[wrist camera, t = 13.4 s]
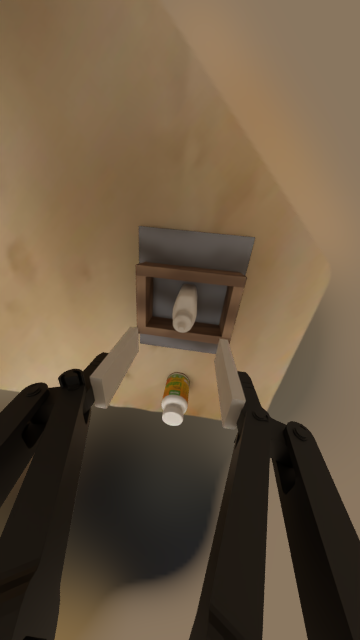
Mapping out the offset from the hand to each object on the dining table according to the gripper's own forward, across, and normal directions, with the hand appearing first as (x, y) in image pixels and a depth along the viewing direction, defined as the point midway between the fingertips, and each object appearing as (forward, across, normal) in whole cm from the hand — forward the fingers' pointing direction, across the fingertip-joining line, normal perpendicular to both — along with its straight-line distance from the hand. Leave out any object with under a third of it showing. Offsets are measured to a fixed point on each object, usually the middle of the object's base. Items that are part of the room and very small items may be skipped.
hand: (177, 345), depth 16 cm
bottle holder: (+16, 0, 0) cm, 16 cm away
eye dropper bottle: (+16, 0, 0) cm, 16 cm away
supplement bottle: (+16, 0, -21) cm, 27 cm away
